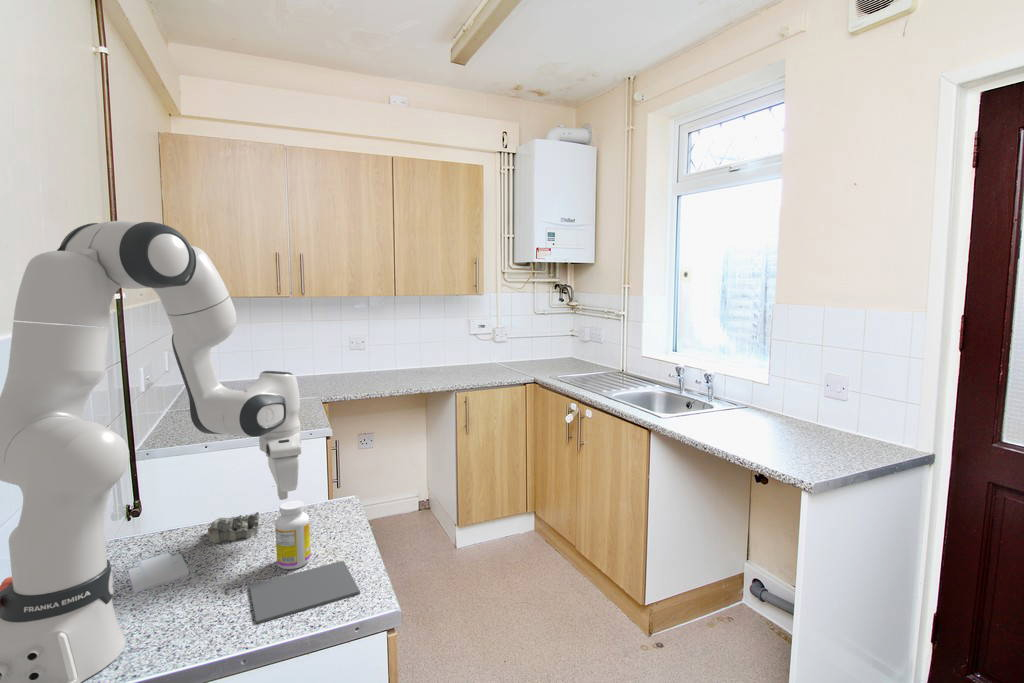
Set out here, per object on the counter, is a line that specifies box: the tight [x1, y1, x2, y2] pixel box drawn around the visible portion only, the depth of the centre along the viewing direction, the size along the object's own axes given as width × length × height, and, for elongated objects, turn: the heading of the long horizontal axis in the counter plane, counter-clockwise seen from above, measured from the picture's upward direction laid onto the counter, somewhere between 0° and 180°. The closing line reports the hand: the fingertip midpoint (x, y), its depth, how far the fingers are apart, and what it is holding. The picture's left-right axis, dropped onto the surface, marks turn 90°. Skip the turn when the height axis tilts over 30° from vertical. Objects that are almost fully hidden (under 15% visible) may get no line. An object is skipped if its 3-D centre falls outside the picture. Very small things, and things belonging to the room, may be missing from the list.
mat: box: [249, 560, 361, 625], centre depth 101 cm, size 18×13×1 cm
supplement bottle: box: [274, 500, 312, 570], centre depth 111 cm, size 7×7×13 cm
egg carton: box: [207, 512, 260, 544], centre depth 124 cm, size 11×8×4 cm
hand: (282, 497), depth 122 cm, fingers closed
